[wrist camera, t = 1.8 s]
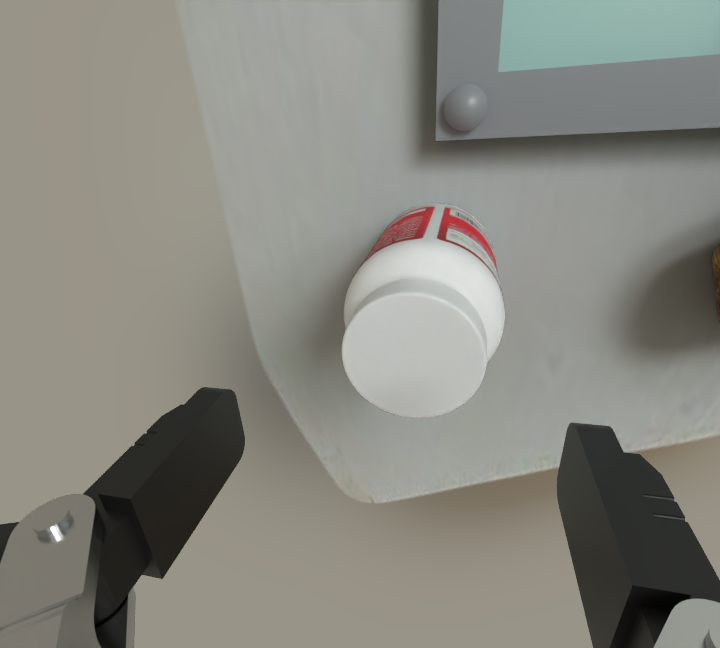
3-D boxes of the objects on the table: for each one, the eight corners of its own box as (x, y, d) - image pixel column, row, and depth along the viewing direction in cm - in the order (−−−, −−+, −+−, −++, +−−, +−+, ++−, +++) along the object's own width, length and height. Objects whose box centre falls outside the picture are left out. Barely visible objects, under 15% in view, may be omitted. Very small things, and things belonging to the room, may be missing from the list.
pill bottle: (374, 300, 25) (315, 416, 15) (384, 194, 22) (320, 255, 12) (481, 317, 24) (489, 453, 14) (505, 208, 21) (537, 286, 11)
